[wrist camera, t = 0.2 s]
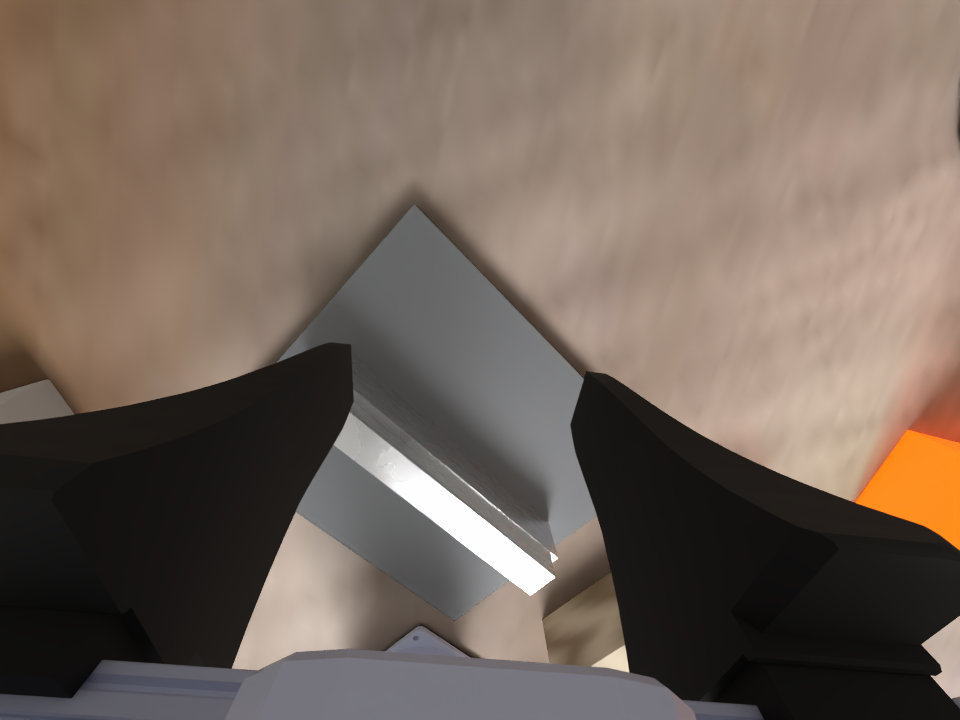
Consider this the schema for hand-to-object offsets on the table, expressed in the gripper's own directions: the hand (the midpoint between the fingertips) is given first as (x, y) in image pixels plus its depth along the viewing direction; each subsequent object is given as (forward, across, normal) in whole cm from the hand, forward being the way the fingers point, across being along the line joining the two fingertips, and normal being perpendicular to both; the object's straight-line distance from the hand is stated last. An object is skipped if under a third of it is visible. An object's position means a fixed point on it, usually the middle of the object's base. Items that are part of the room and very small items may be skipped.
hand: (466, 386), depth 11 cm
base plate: (+9, +1, +10) cm, 14 cm away
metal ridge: (+9, +1, +10) cm, 14 cm away
